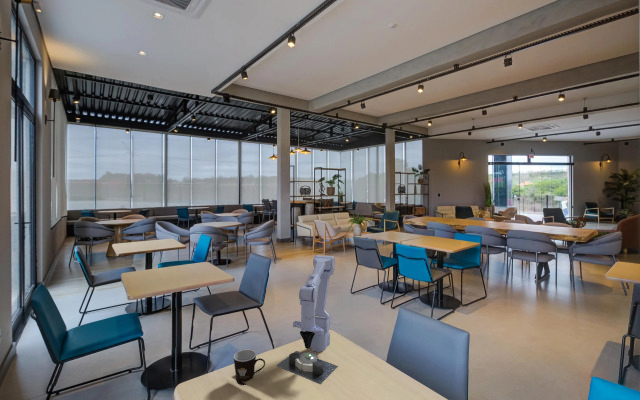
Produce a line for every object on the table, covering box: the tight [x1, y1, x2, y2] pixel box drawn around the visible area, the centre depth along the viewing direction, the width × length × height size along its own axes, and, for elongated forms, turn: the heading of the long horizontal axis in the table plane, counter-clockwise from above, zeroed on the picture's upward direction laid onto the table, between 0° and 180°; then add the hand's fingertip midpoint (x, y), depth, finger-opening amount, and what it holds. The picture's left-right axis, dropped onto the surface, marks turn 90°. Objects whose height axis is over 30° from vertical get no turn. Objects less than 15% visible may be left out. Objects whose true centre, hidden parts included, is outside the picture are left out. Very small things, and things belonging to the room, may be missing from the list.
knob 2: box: [303, 362, 323, 375], centre depth 123 cm, size 8×4×3 cm, turn 81°
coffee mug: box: [233, 348, 266, 386], centre depth 118 cm, size 12×9×10 cm
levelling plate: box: [275, 350, 339, 385], centre depth 127 cm, size 14×22×6 cm, turn 58°
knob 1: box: [289, 352, 303, 370], centre depth 127 cm, size 8×4×3 cm, turn 35°
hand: (307, 347), depth 126 cm, fingers closed
